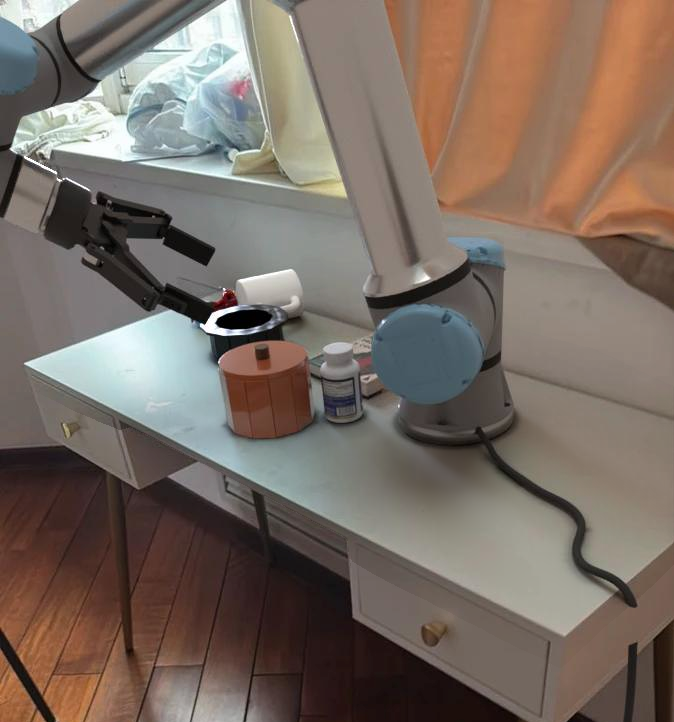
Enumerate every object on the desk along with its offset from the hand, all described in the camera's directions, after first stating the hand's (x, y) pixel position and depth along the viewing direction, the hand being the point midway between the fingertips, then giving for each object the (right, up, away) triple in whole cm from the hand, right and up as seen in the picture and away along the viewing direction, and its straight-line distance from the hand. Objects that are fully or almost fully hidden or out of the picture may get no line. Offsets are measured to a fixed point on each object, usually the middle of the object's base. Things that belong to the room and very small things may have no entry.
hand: (210, 285), depth 112 cm
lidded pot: (+7, -16, +7) cm, 19 cm away
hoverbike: (-4, +9, +42) cm, 43 cm away
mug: (+6, +7, +38) cm, 39 cm away
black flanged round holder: (+2, 0, +29) cm, 29 cm away
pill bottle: (+18, -16, +6) cm, 25 cm away
